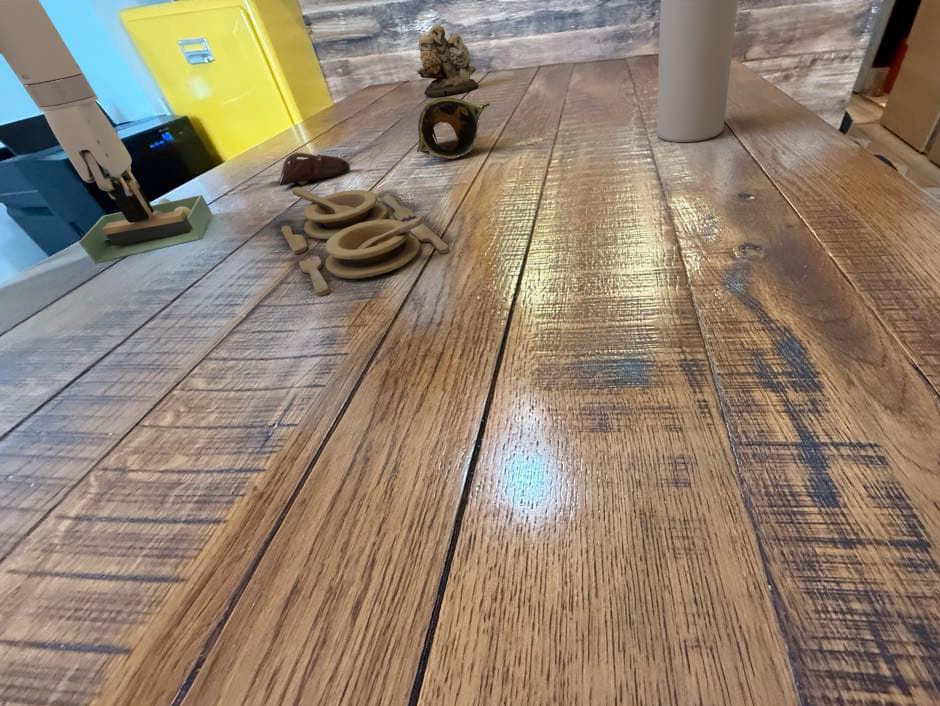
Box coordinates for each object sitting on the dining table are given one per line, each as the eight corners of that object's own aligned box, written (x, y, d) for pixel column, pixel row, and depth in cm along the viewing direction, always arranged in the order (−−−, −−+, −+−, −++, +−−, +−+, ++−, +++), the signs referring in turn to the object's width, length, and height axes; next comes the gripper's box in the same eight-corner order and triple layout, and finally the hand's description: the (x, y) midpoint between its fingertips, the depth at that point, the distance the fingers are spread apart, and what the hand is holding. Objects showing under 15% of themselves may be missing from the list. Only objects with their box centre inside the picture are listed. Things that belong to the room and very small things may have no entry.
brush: (113, 246, 87) (78, 191, 81) (118, 239, 89) (84, 186, 83) (189, 232, 89) (160, 178, 83) (192, 226, 91) (164, 173, 85)
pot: (465, 88, 112) (473, 68, 96) (493, 138, 117) (505, 127, 100) (400, 131, 112) (397, 119, 96) (430, 180, 117) (432, 176, 101)
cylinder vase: (647, 131, 103) (650, -30, 87) (706, 120, 104) (721, -41, 87) (670, 147, 94) (679, -30, 77) (734, 135, 95) (757, -42, 78)
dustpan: (201, 238, 87) (189, 217, 84) (94, 263, 84) (78, 242, 81) (218, 202, 101) (207, 183, 98) (126, 222, 98) (113, 203, 96)
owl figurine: (428, 100, 152) (411, 30, 141) (418, 95, 161) (402, 29, 149) (483, 88, 157) (472, 19, 145) (471, 83, 165) (460, 18, 154)
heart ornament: (288, 199, 106) (297, 155, 108) (346, 203, 106) (353, 159, 108) (273, 178, 99) (282, 132, 102) (334, 182, 99) (343, 136, 102)
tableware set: (281, 231, 85) (264, 195, 81) (392, 197, 91) (382, 162, 87) (318, 301, 65) (297, 257, 61) (458, 252, 71) (447, 209, 67)
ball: (187, 232, 92) (183, 223, 89) (171, 219, 92) (166, 210, 89) (201, 221, 94) (197, 212, 91) (185, 208, 93) (181, 199, 90)
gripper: (55, 90, 80) (131, 207, 92) (10, 108, 68) (103, 240, 80) (107, 81, 81) (175, 197, 93) (71, 97, 69) (154, 229, 81)
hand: (141, 216), depth 87 cm, fingers closed on brush, 2 cm apart
